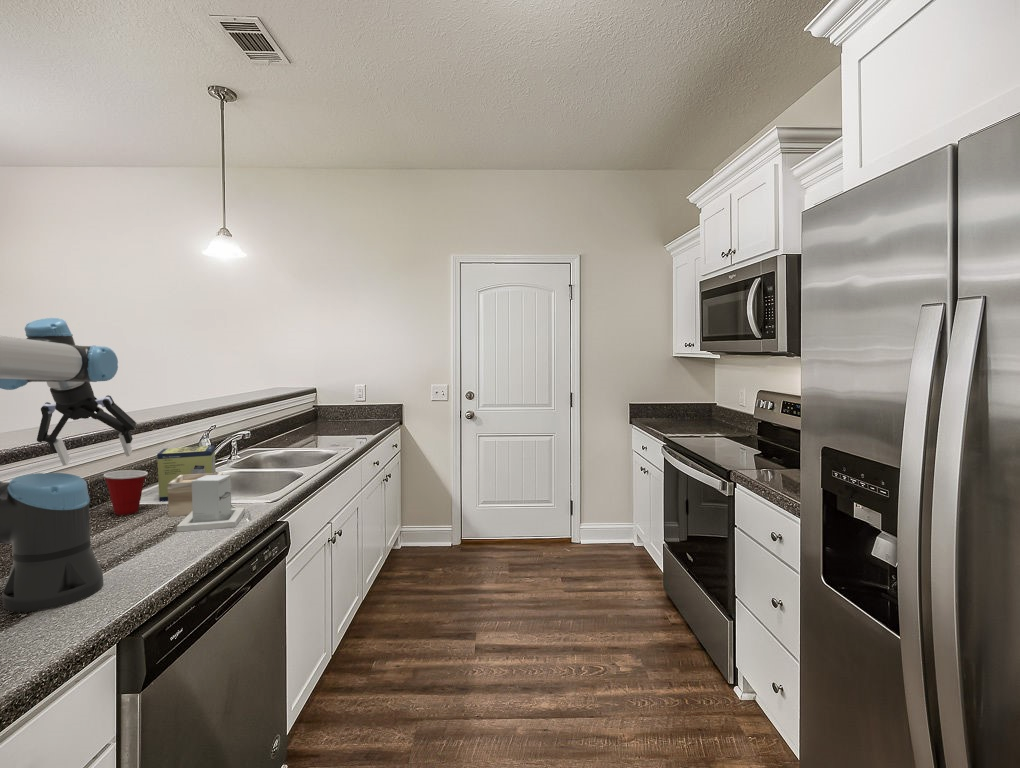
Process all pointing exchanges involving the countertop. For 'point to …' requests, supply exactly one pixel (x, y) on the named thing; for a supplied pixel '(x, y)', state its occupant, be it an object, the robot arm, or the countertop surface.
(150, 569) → the countertop surface
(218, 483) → the supplement box
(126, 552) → the countertop surface
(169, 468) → the protein box
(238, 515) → the white flat square frame
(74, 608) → the countertop surface
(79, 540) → the robot arm
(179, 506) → the tray
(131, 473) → the plastic cup
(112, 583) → the countertop surface
